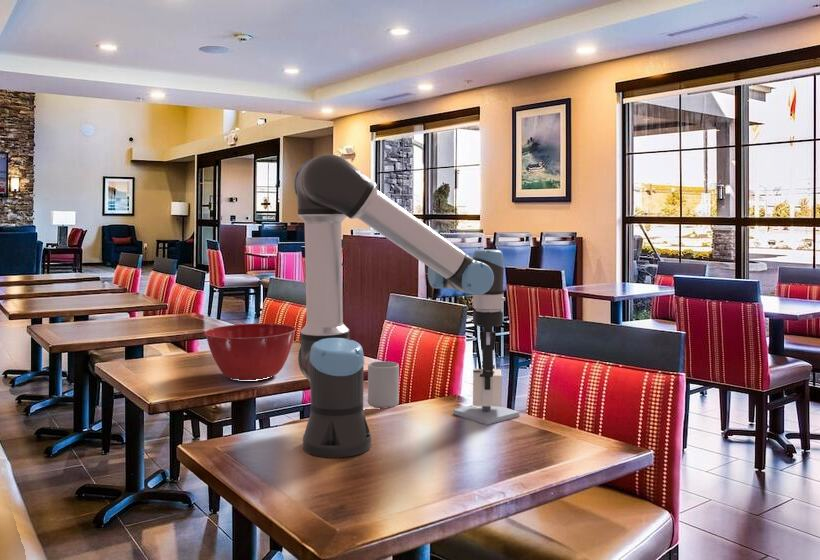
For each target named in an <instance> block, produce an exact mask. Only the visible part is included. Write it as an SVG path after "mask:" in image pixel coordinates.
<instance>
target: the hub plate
mask: <svg viewBox="0 0 820 560" xmlns="http://www.w3.org/2000/svg"><path fill="white" fill-rule="evenodd" d="M453 415H455V416H458V417H462V418H465V419H467V420H470V421H473V422H477V423H480V424H483V425H486V426H488V425H493V424H495V423H498V422H499V423H500V422H503V421H508V420H510V419H514V418H519V417H520V411H518V410H514V409H511V408H508V407H504V406H501V407H497V406H473V404H472V405H468V406H467V405H466V406H464V407H458V408H454V409H453Z"/></svg>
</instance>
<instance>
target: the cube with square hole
mask: <svg viewBox="0 0 820 560" xmlns="http://www.w3.org/2000/svg"><path fill="white" fill-rule="evenodd" d="M472 373H473V374H472V375H473V377H472V378H473V379H472V405H473V406H497V407H502V402H503V401H502V400H503V398H502V397H503V396H502V395H503V394H502V389H503V387H502V386H503V375H502V369H500V368H499V369H498V368H495V369H493V402H482V377H480V374H482V373H483V368H473V369H472Z"/></svg>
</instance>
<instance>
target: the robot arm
mask: <svg viewBox="0 0 820 560" xmlns="http://www.w3.org/2000/svg"><path fill="white" fill-rule="evenodd" d="M293 182H294V183H293V187H294V188H293V189H294V190H295V191H294V193H295V195H296V197H297V199H296V200H297V217H299V219H301V221H303V223H304V254H305V255H304V259H305V262H304V263H305V266H304V267H305V299H306V301H305V305H306V306H305V307H306V311H305V312H306V323H305V325H304V326H303V327H302V329H300V347H299V350H298V355H297V360H298V367H299V369H300V371H301V373H302V375H303V376H304V378H305V379H307V380H308V382H309V385H310V414H309V417H308V420H307V425H306V428H305V430H304V434H303V436H302V449H303V450H304V452H306V453H307V454H310V455H311V456H315V457H321V458H335V459H336V458H337V459H338V458H347V457H348V458H349V457H354V456H358V455H362V454H364V453H365V452H367V451H369V450H370V449H371V447H372V435H371V431H370V428H369V425H368V422H367V419H366V416H365V412H364V365H365V356H364V350H363V346H362V345H361V344H360V343H359V342H357V341H356V340H353V339H350V328H348V327H347V326H346V324H344V322H343V321H344V319H343V317H344V315H343V314H344V312H343V309H344V308H343V307H344V306H343V260H342V259H343V256H342V252H343V251H342V250H343V248H342V245H343V244H342V222H343V221H344V220H345V219H346V218H347V217H348V219H350V220H352V219H359V220H360V221H361V222H362V223H364V224H366V226H368V227H370V228H372V229H373V230H374V231H376V232H377V233H379V234H380V235H382V236H383V237H384V238H386V239H387V240H389V241H390V242H392V243H393V244H395V245H396V246H398V247H399V248H401V249H402V250H404V251H405V252H406V253H408V254H409V255H411V256H412V257H413V258H415V259H417V260H418V261H419V262H421V263H422V264H424V265H425V266H427V279H428V283H429V285H430V287H431V288H433V289H441V290H444V289H452V290H456V291H459V292H463V293H467V294H468V295H472V296H473V298H472V300H473V302H472V304H473V305H472V307H473V309H474V311H473V312H472V313H473V317H472V318H473V319H472V320H473V321H472V322H473V323H472V324H473V325H475V326H477V327H482V330H481V331H479V337H480V338H479V339H480V349H481V351H482V360H481V364H482V365H481V367H482V369H483V373H482V374H480V377H482V402H493V369H496V368H495V367H496V366H495V365H494V351H495V348H496V347H495V343H496V342H495V340H496V337H497V335H496V331H493V328H494V327H495V328H496V327H500V326H503V323H504V322H503V321H504V318H503V317H504V312H503V311H502V309H503V307H504V303H503V302H505V301H506V297H504V269H505V266H504V265H505V264H504V253H503V252H502V251H501V250H500V249H476V250H474V252H473V255H472V256H473V257H472V256H470V255H469V254H468V253H466V252H464V251H463V250H462V249H460V248H459V247H458V246H456V245H455V244H454V243H452V242H451V241H449V240H448V239H447V238H445V237H444V236H442V235H441V234H439V233H438V232H437V231H435V230H434V228H431V227H430V226H429V225H428V224H425V223H424V222H423V221H421V220H420V219H419V218H418V217H416V216H414V215H413V214H412V213H410V212H409V211H408V210H406V209H405V208H404V207H402V206H400V205H399V204H398V203H396V202H395V201H394V200H392V199H391V198H389V197H388V196H387V195H386V194H384V193H382V192H381V191H380V190H378V188H377V183H376V182H375V181H374V180H372V179H371V178H370V177H368V176H367V175H365V173H364V172H362V171H361V170H360V169H358V168H357V167H355V166H354V165H353V164H352V163H350V162H349V161H348V160H346V159H344V157H341V156H339V155H335V154H332V153H331V154H329V153H325V154H321V155H318V156H316V157H313V158H311V159H308V160H307V161H305V162H304V163H302V165H301V166H300V167H299V168H298V170H297V171H296V174H295V176H294V180H293Z"/></svg>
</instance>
